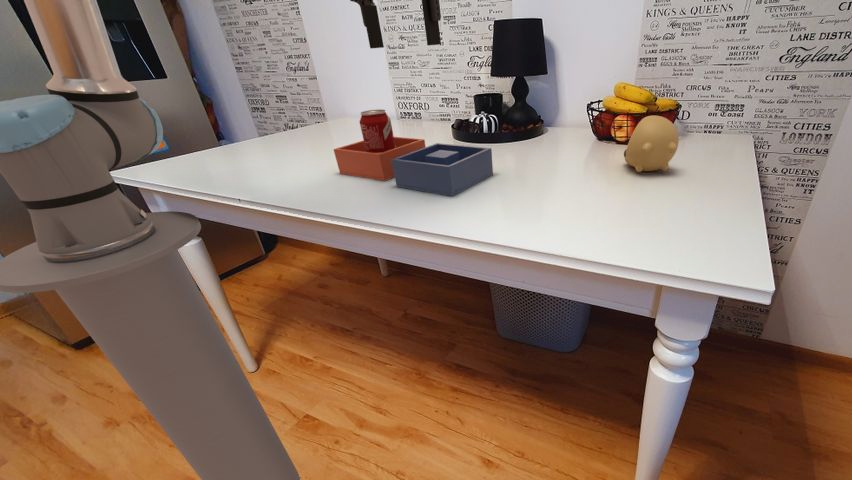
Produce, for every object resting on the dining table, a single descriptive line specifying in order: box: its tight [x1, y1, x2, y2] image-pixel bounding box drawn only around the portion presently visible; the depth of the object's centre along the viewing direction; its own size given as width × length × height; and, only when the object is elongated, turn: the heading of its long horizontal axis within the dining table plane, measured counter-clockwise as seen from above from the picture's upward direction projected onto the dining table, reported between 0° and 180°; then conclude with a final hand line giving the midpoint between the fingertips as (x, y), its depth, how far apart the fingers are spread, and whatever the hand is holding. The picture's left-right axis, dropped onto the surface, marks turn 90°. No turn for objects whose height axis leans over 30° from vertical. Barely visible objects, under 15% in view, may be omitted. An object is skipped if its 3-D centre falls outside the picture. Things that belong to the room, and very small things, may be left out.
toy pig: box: [623, 115, 680, 173], centre depth 81 cm, size 10×12×11 cm
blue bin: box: [391, 142, 494, 197], centre depth 83 cm, size 15×15×6 cm
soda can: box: [359, 109, 396, 154], centre depth 91 cm, size 7×7×12 cm
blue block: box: [425, 150, 460, 165], centre depth 83 cm, size 5×5×5 cm
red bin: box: [333, 136, 426, 182], centre depth 93 cm, size 15×15×6 cm
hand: (404, 46), depth 70 cm, fingers open, 13 cm apart
